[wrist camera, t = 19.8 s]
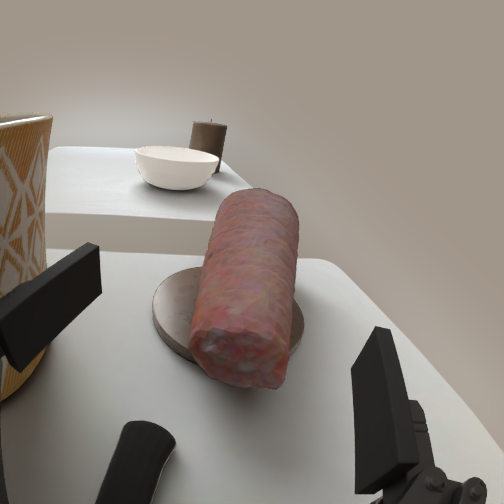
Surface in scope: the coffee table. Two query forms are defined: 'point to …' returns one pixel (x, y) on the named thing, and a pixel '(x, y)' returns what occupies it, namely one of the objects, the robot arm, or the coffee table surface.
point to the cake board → (182, 310)
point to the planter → (22, 213)
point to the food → (247, 291)
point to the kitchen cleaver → (136, 464)
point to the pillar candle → (208, 139)
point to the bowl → (175, 166)
